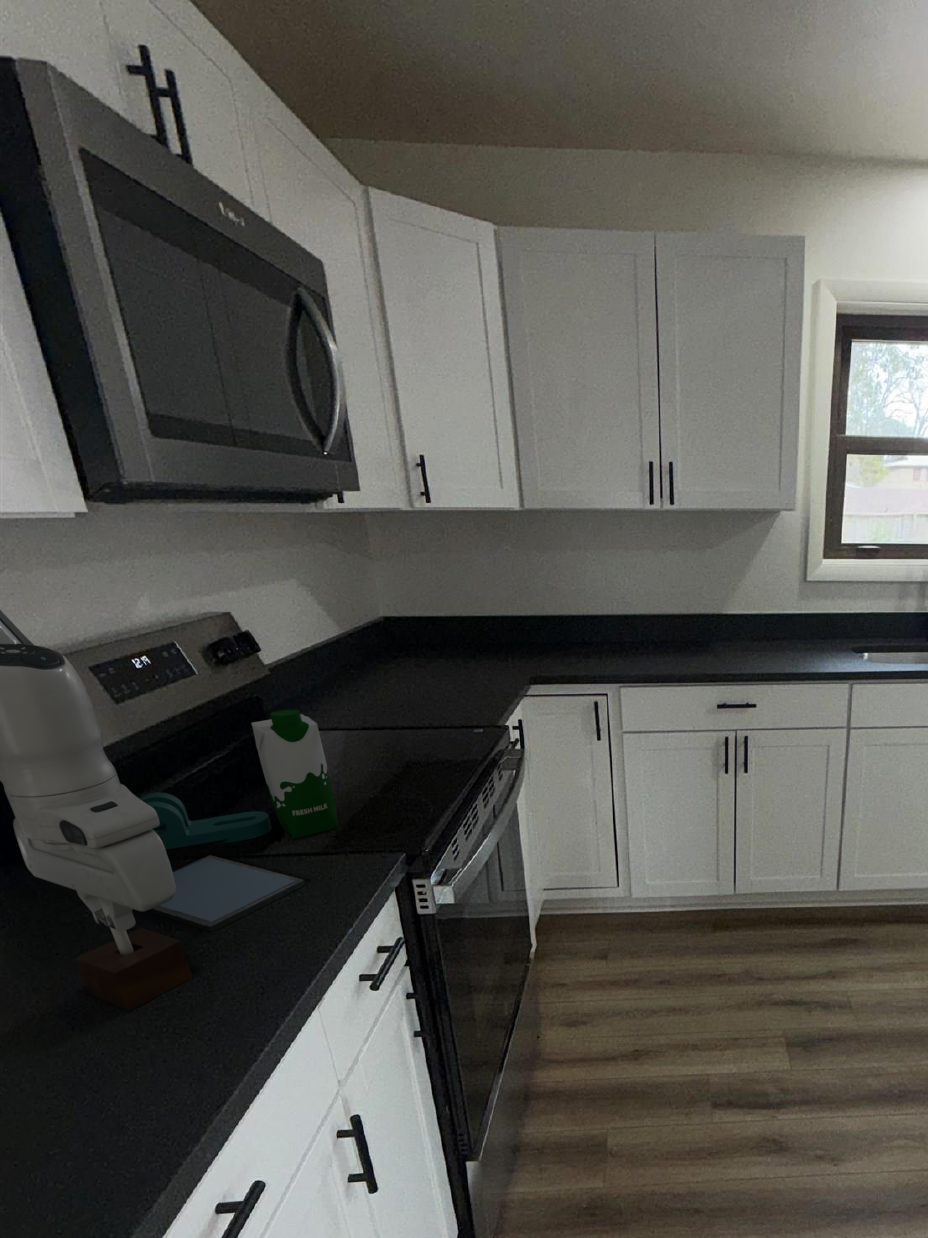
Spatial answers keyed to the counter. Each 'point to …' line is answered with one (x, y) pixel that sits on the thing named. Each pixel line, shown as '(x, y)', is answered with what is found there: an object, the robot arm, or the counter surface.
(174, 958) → the pen holder
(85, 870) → the robot arm
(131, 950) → the stylus
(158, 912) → the plate
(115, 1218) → the counter surface
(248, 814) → the bracket
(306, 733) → the milk carton
